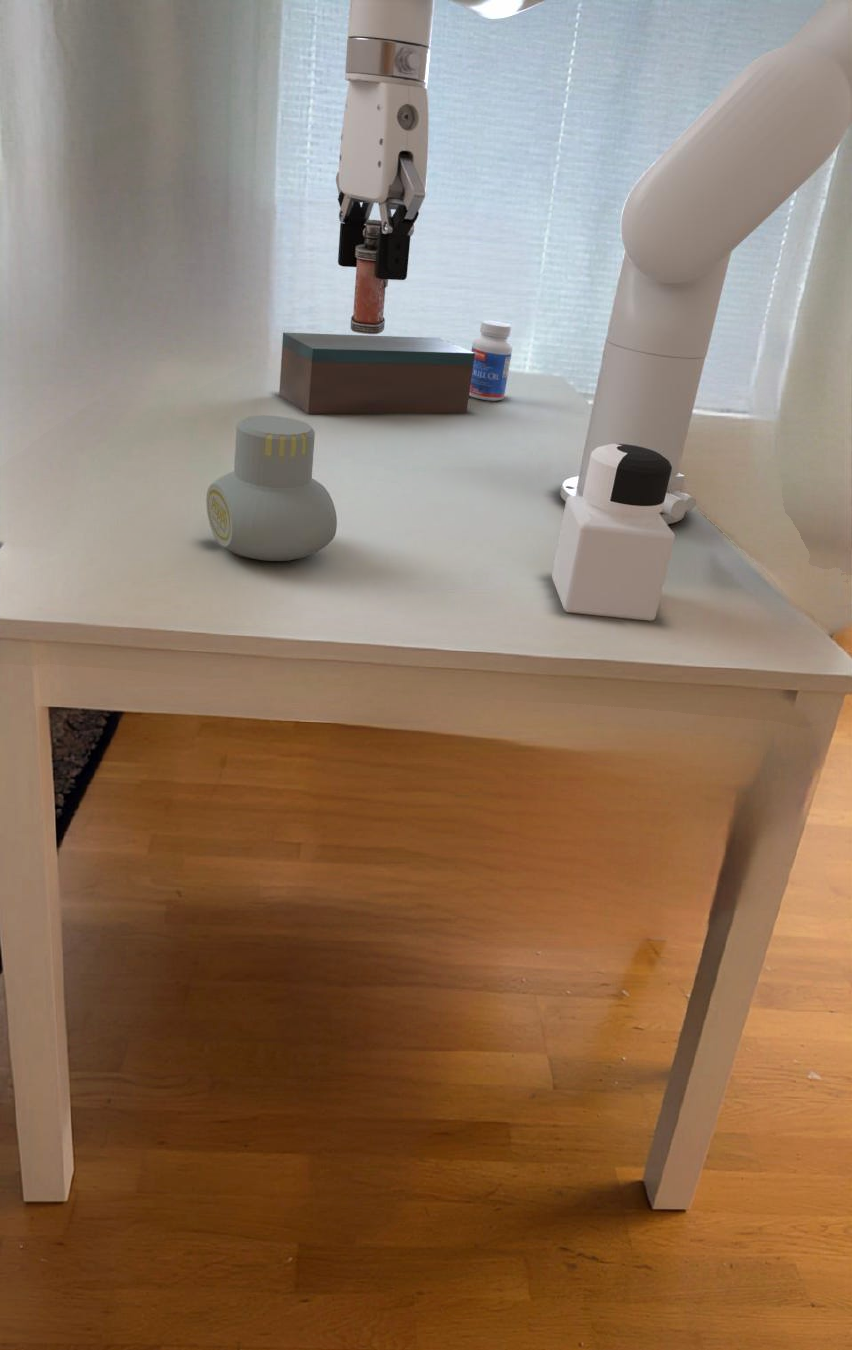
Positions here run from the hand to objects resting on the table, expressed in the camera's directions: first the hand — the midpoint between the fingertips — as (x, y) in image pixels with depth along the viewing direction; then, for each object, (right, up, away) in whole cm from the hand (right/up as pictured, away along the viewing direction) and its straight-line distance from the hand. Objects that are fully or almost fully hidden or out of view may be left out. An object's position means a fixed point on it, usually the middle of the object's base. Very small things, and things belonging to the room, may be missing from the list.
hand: (371, 271), depth 105 cm
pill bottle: (+13, -2, +41) cm, 44 cm away
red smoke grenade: (-1, -5, +2) cm, 6 cm away
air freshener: (-7, -30, -20) cm, 37 cm away
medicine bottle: (+19, -34, -21) cm, 44 cm away
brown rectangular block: (-1, -6, +29) cm, 30 cm away
